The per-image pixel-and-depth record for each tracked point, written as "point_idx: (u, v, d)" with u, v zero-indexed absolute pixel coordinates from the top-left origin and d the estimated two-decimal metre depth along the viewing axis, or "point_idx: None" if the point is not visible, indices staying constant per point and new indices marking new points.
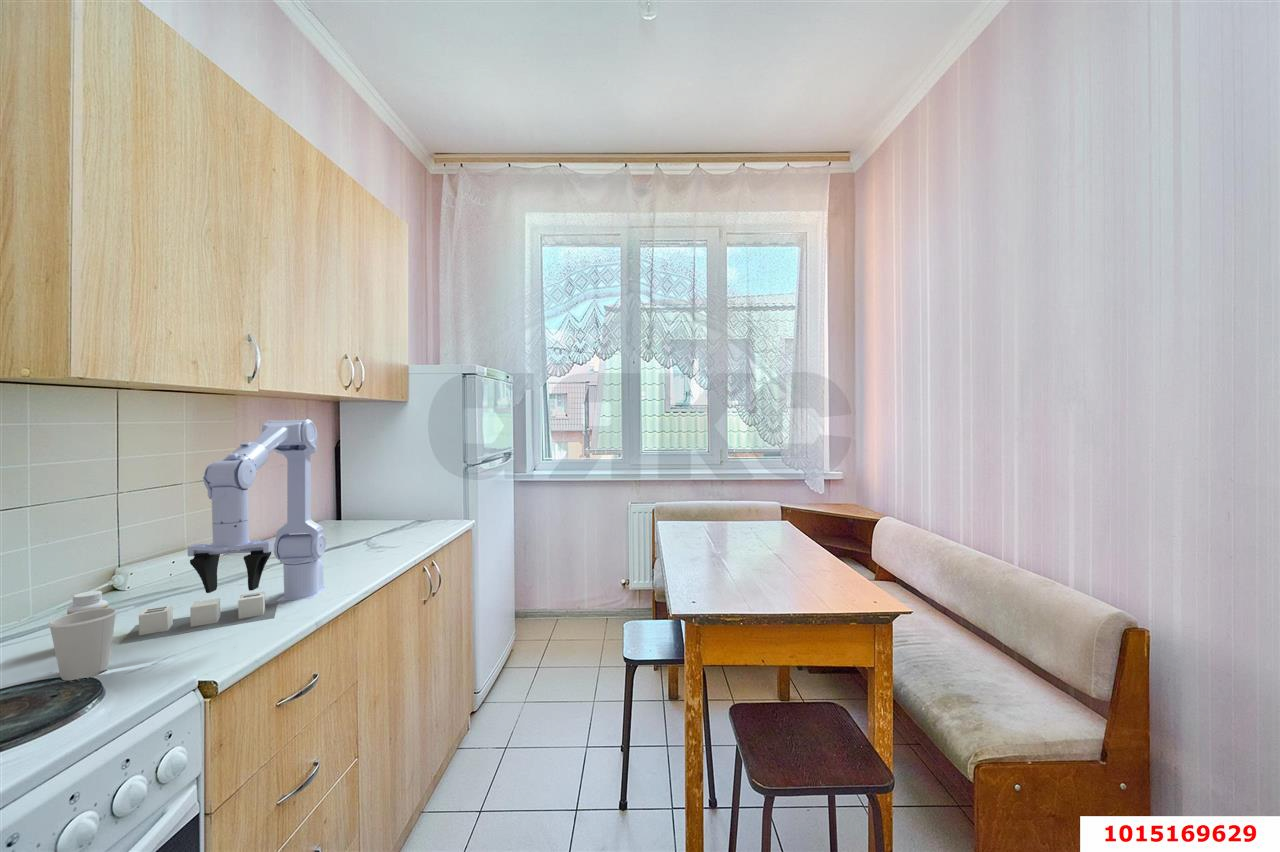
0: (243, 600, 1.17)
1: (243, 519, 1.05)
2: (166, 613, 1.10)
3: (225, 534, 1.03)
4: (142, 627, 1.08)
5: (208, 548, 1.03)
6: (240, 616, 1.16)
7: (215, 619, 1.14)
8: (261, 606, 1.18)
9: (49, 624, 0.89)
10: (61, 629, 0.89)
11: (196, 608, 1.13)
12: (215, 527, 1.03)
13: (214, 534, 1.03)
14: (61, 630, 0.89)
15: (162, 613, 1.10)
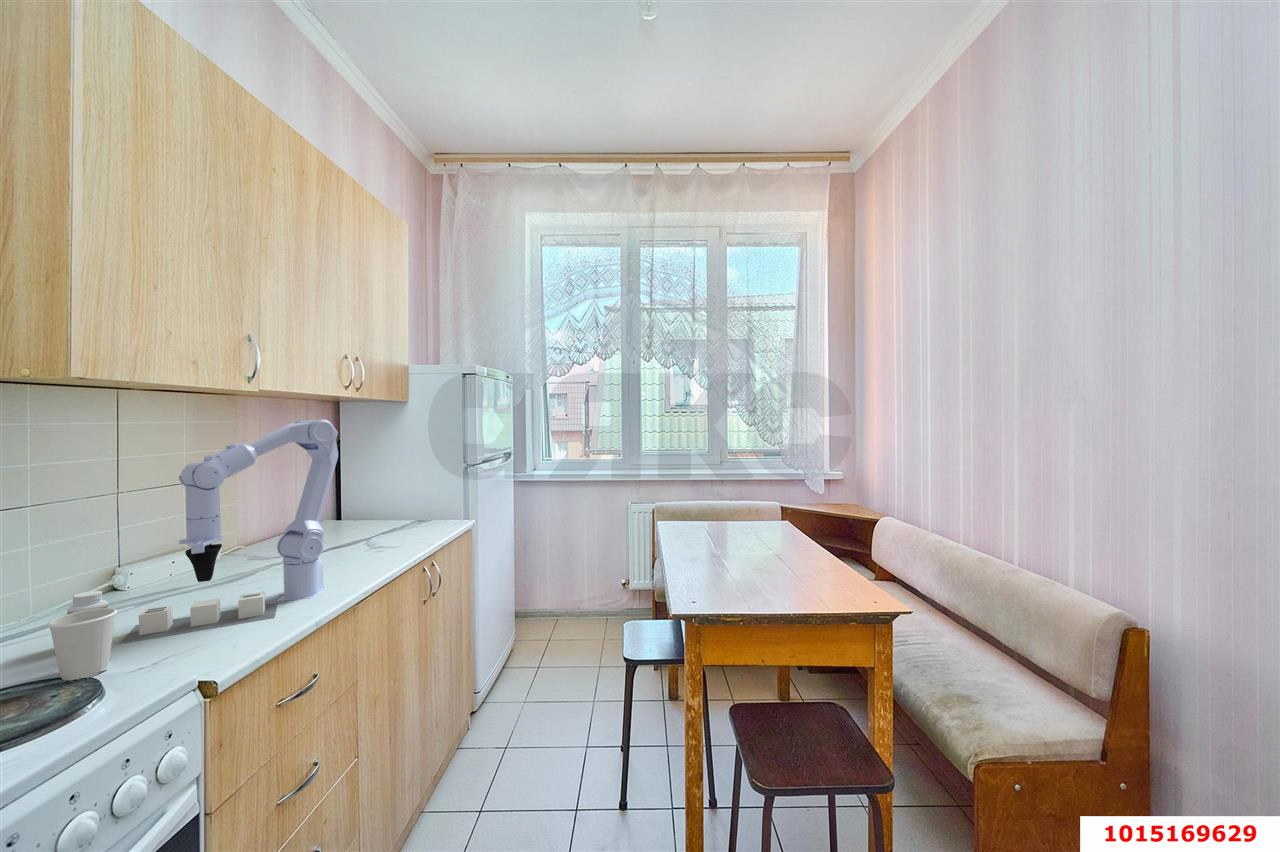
0: (243, 600, 1.17)
1: (205, 517, 1.13)
2: (166, 613, 1.10)
3: (186, 528, 1.13)
4: (142, 627, 1.08)
5: None
6: (240, 616, 1.16)
7: (215, 619, 1.14)
8: (261, 606, 1.18)
9: (49, 624, 0.89)
10: (61, 629, 0.89)
11: (196, 608, 1.13)
12: None
13: None
14: (61, 630, 0.89)
15: (162, 613, 1.10)
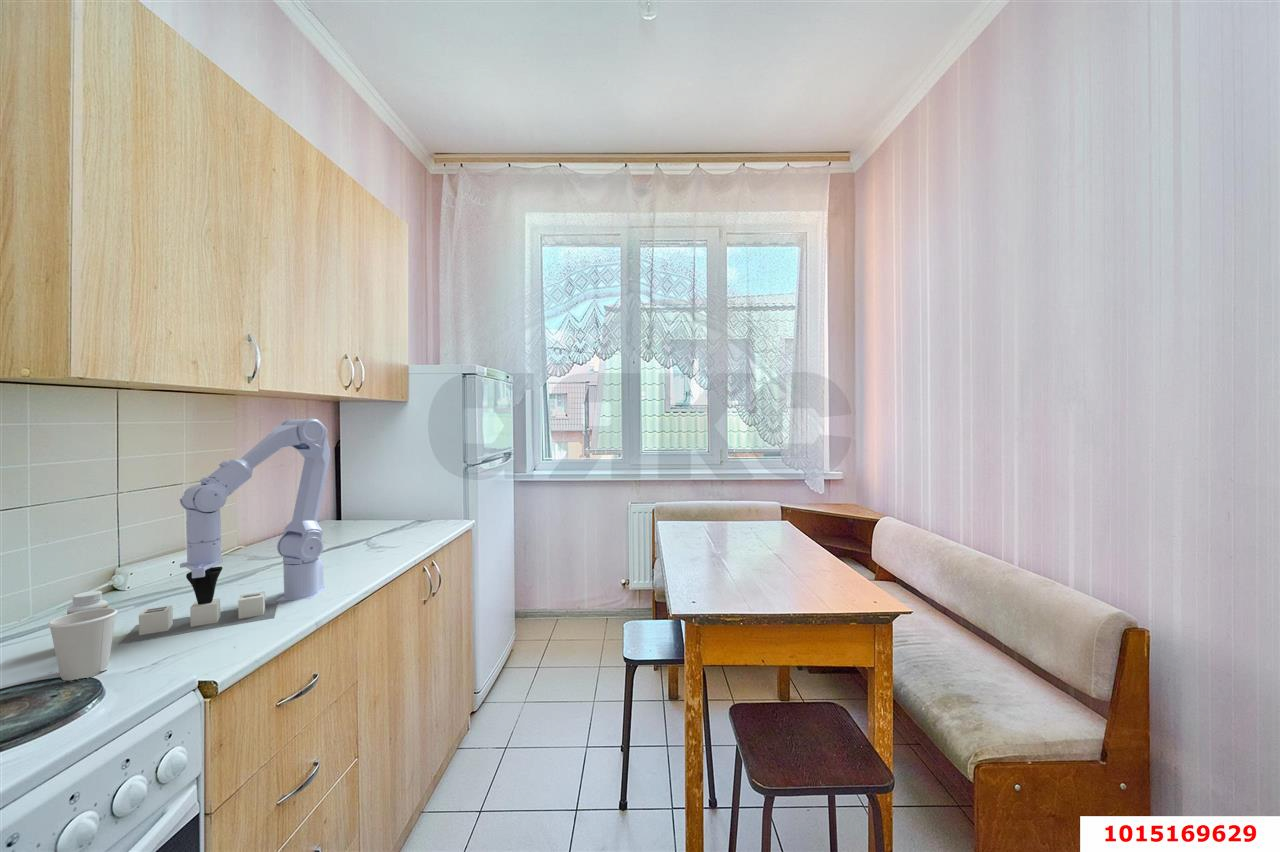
0: (243, 600, 1.17)
1: (206, 540, 1.13)
2: (166, 613, 1.10)
3: (187, 552, 1.13)
4: (142, 627, 1.08)
5: None
6: (240, 616, 1.16)
7: (215, 619, 1.14)
8: (261, 606, 1.18)
9: (49, 624, 0.89)
10: (61, 629, 0.89)
11: (196, 608, 1.13)
12: None
13: None
14: (61, 630, 0.89)
15: (162, 613, 1.10)
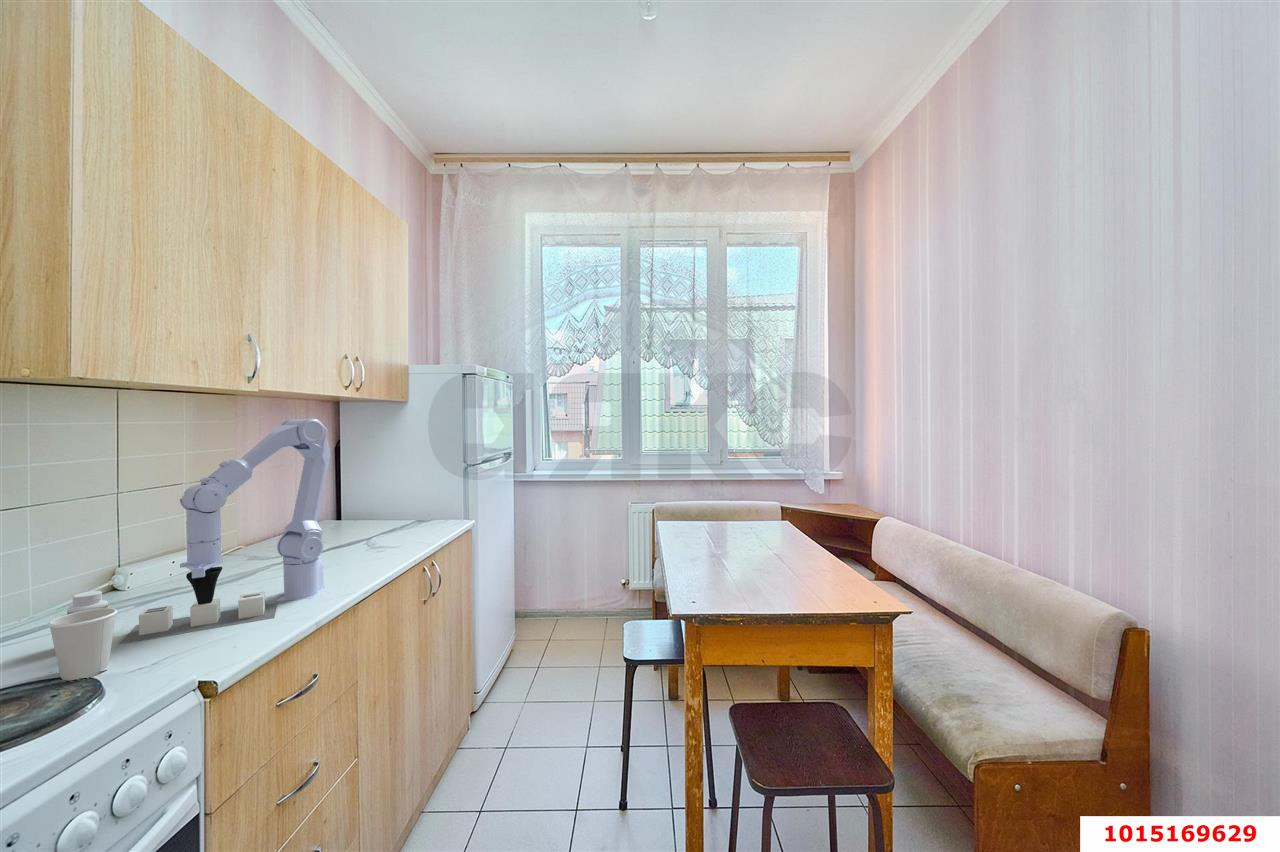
0: (243, 600, 1.17)
1: (206, 540, 1.13)
2: (166, 613, 1.10)
3: (187, 552, 1.13)
4: (142, 627, 1.08)
5: None
6: (240, 616, 1.16)
7: (215, 619, 1.14)
8: (261, 606, 1.18)
9: (49, 624, 0.89)
10: (61, 629, 0.89)
11: (196, 608, 1.13)
12: None
13: None
14: (61, 630, 0.89)
15: (162, 613, 1.10)
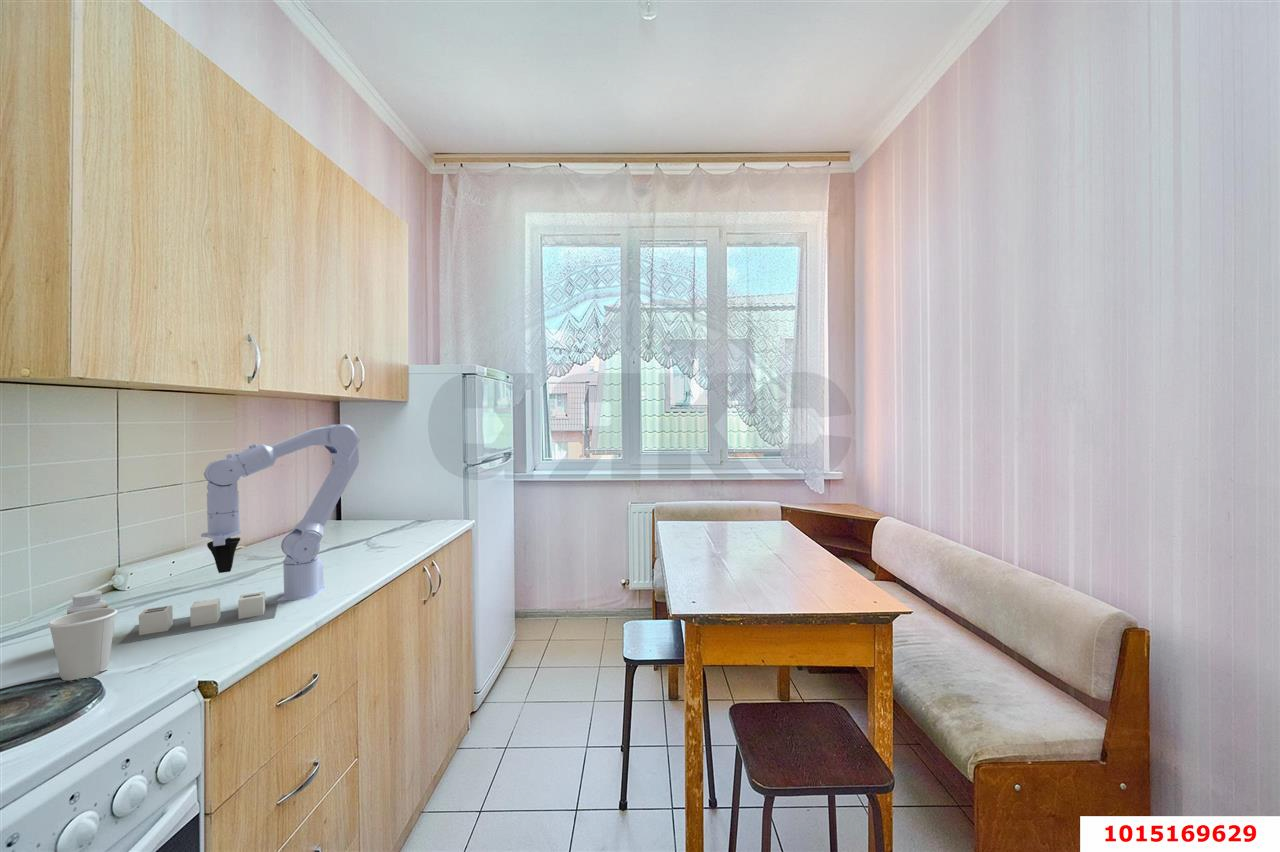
0: (243, 600, 1.17)
1: (220, 512, 1.20)
2: (166, 613, 1.10)
3: None
4: (142, 627, 1.08)
5: None
6: (240, 616, 1.16)
7: (215, 619, 1.14)
8: (261, 606, 1.18)
9: (49, 624, 0.89)
10: (61, 629, 0.89)
11: (196, 608, 1.13)
12: None
13: None
14: (61, 630, 0.89)
15: (162, 613, 1.10)
